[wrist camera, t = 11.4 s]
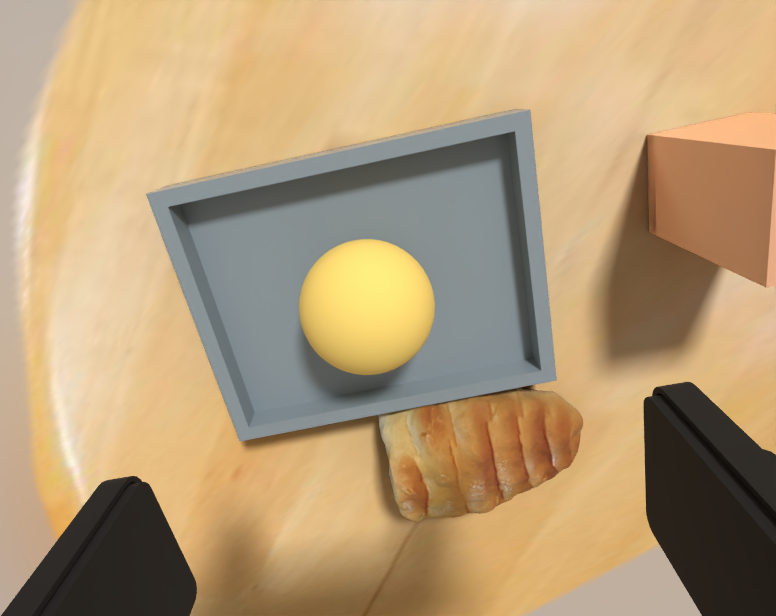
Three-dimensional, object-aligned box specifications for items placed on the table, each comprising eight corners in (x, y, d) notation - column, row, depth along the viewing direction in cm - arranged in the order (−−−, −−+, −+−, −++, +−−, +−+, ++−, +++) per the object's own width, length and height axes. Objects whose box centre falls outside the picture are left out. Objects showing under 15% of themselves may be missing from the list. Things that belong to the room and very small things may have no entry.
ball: (417, 213, 20) (426, 247, 16) (438, 327, 22) (452, 387, 18) (295, 238, 21) (268, 279, 16) (325, 348, 23) (309, 412, 18)
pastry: (564, 350, 24) (597, 393, 21) (576, 464, 27) (607, 520, 23) (368, 391, 25) (367, 440, 21) (397, 499, 27) (401, 559, 24)
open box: (750, 112, 20) (930, 117, 14) (745, 212, 22) (905, 260, 15) (647, 134, 20) (775, 149, 14) (648, 232, 22) (766, 287, 15)
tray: (515, 109, 20) (530, 109, 18) (542, 358, 24) (556, 380, 22) (166, 185, 21) (146, 194, 19) (249, 415, 25) (239, 441, 23)
